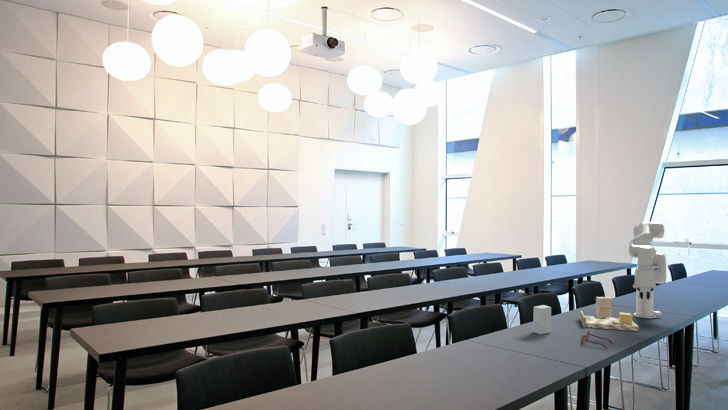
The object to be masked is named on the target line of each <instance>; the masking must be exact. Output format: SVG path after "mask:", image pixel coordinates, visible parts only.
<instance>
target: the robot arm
mask: <svg viewBox="0 0 728 410" xmlns="http://www.w3.org/2000/svg"><path fill="white" fill-rule="evenodd" d="M632 233H633V236H634V237H633V238H632V239H630V241H629V245H628V255H629V256H630V257H632V258H636V259H637V268H636V269H635V271H634V283H633V285H632V288H634V289H636V291H635V292H636V295H635V298H636V299H635V301H636V303H635V305H636V306H635V307H636V308H635V310H636V311H635V312H634V313H633V314H632V316H634V317H637V318H642V319H655V318H657V316H656V315H658V316H661V315H662V311H658V310H657V311H655V310H654V291H655V290H658V287H657V285H656V284H660V285H661V284H665V283H666V282H667V258H666V255H665V254H663V253H662V252H657V249H656V248H655V247H654V246H653V244H652V242H653V241H654V239H663V238H664V235H665V226H664V224H663V223H661V222H658V221H655V222H654V221H643V222H640V223H639V224H638V225H636V226H634V227H633V232H632Z"/></svg>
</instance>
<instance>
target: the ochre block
mask: <svg viewBox="0 0 728 410" xmlns="http://www.w3.org/2000/svg"><path fill="white" fill-rule="evenodd" d="M618 318H619V321H620V322H621V323H629V324H632V320H633V314H632V313H631V312H622V311H621V312H620V311H619V312H618Z"/></svg>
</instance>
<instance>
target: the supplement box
mask: <svg viewBox="0 0 728 410" xmlns="http://www.w3.org/2000/svg"><path fill="white" fill-rule="evenodd" d="M612 301H613V300H612V297H610V296H595V316H596V317H610V318H613V317H612V316H613V314H612V313H613V312H612V309H613V308H612V305H613V304H612Z"/></svg>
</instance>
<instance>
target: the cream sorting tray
mask: <svg viewBox="0 0 728 410" xmlns="http://www.w3.org/2000/svg"><path fill="white" fill-rule="evenodd" d="M579 320H580V322H581V324H582V326H583V328H591V327H592V329H593V328H594V329H607V330H619V331H631V332H632V331H634V332H639V329H640V327H639V325H638V324H637V323H636V322H635V321H634V320H633V319H632V324H629V323H621V322H620V321H619V317H612V318H610V317H596V315H594V316H593V315H585V314H584V312H583V310H579Z"/></svg>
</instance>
